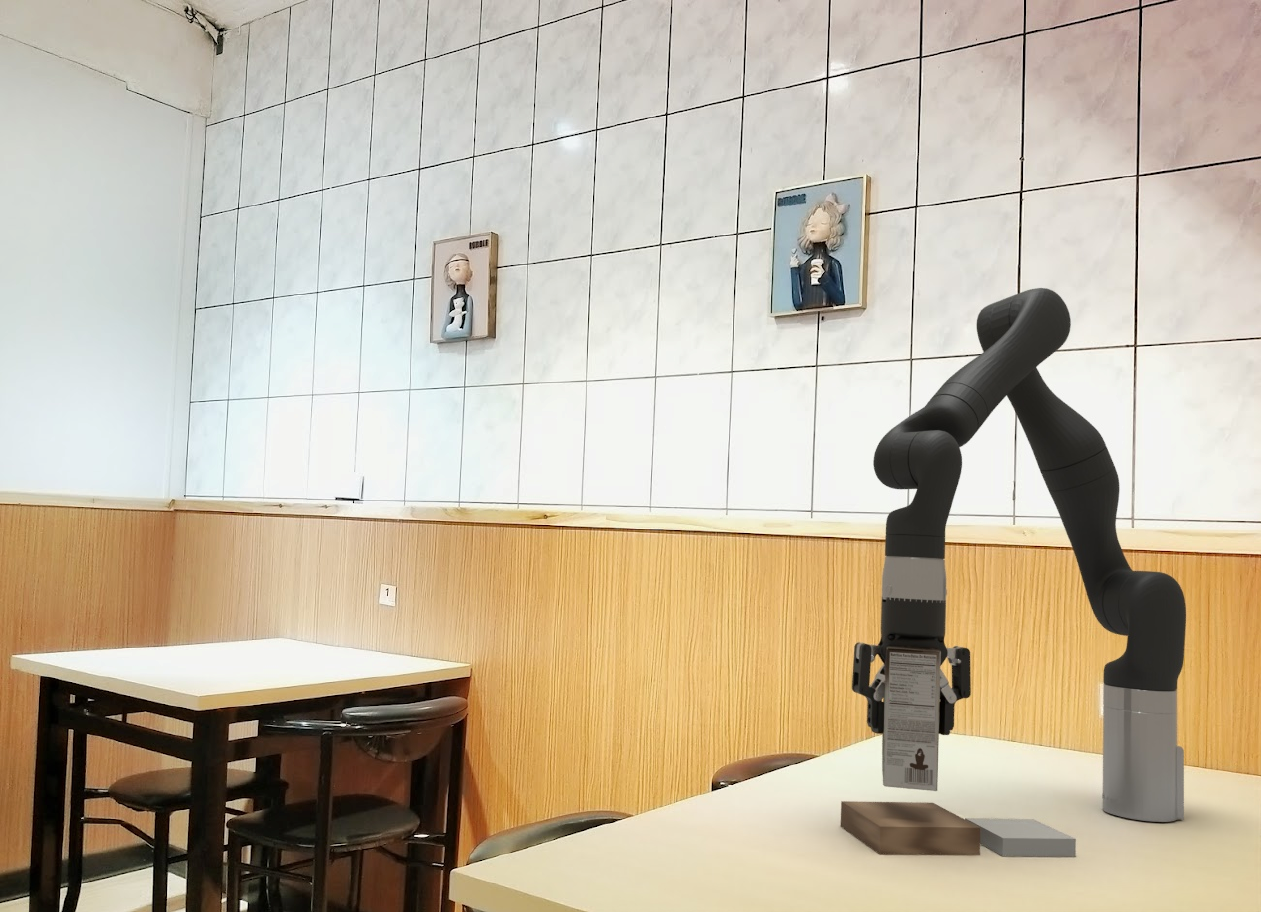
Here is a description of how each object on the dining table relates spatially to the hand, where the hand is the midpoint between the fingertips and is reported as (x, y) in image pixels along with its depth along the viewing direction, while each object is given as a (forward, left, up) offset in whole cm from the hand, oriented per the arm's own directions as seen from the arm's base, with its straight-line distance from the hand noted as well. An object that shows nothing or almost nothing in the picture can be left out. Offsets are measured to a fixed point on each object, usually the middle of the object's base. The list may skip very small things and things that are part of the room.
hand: (910, 733), depth 125 cm
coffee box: (0, 0, -6) cm, 6 cm away
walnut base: (0, 0, -12) cm, 12 cm away
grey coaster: (-13, +2, -12) cm, 18 cm away
